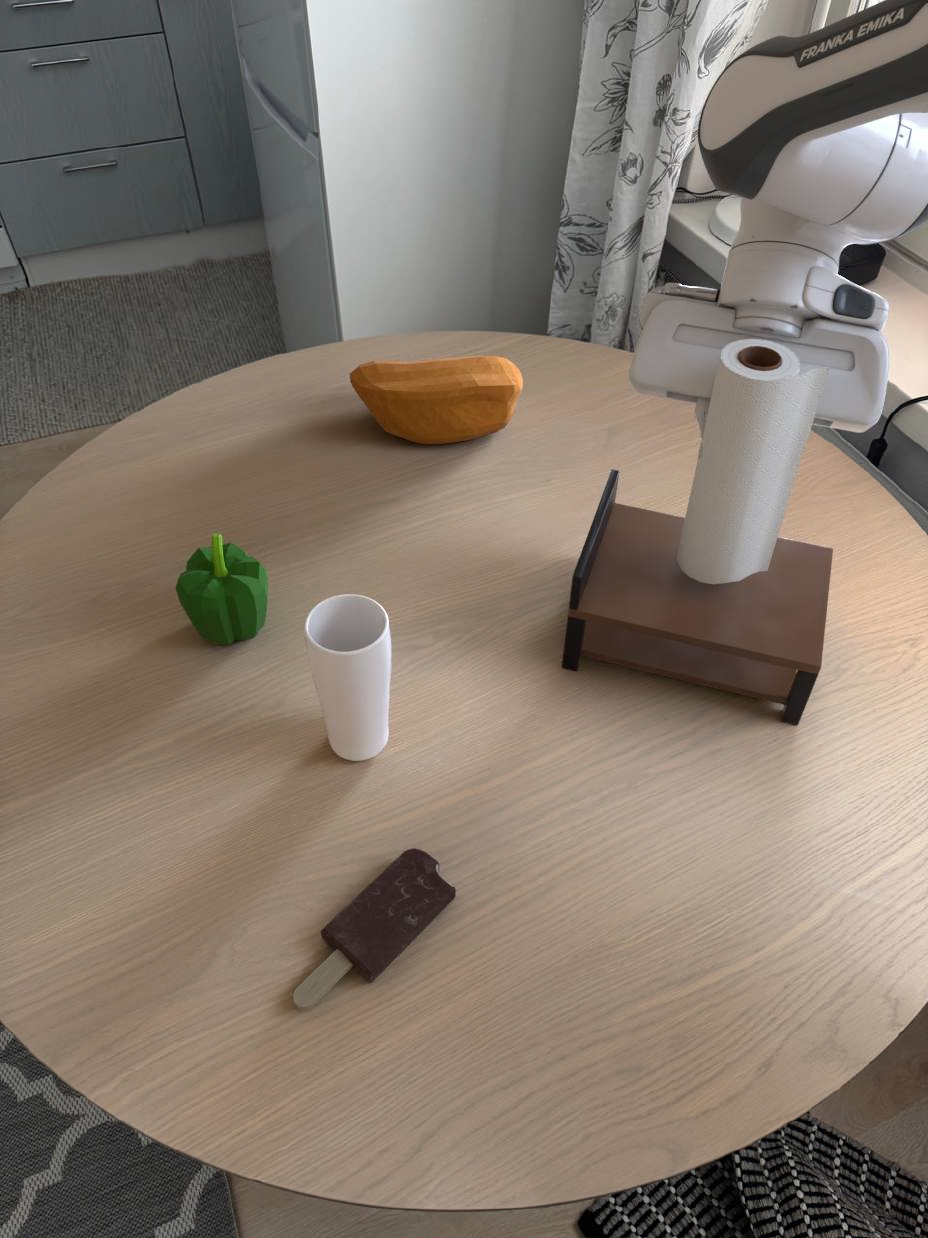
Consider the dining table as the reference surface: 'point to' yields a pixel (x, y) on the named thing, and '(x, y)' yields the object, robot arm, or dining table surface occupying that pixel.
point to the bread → (440, 396)
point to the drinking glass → (351, 672)
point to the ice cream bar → (379, 923)
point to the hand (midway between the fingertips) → (734, 464)
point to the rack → (697, 610)
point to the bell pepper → (224, 592)
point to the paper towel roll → (747, 460)
